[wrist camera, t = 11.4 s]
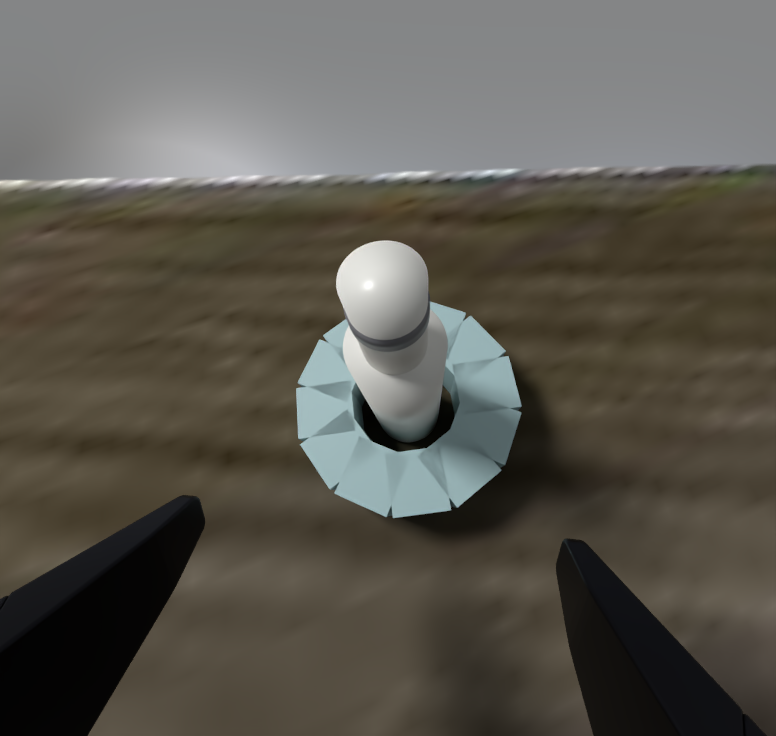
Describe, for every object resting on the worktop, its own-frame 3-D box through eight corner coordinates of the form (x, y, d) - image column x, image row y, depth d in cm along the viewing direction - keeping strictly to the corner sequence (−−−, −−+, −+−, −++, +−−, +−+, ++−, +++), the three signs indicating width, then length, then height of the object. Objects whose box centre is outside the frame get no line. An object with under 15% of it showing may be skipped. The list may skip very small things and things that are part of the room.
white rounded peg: (419, 454, 19) (409, 374, 7) (367, 423, 20) (280, 306, 8) (449, 401, 20) (482, 251, 8) (397, 373, 21) (359, 200, 9)
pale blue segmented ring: (526, 498, 18) (545, 497, 15) (321, 526, 18) (302, 530, 15) (481, 314, 21) (490, 285, 18) (310, 341, 22) (293, 317, 19)
